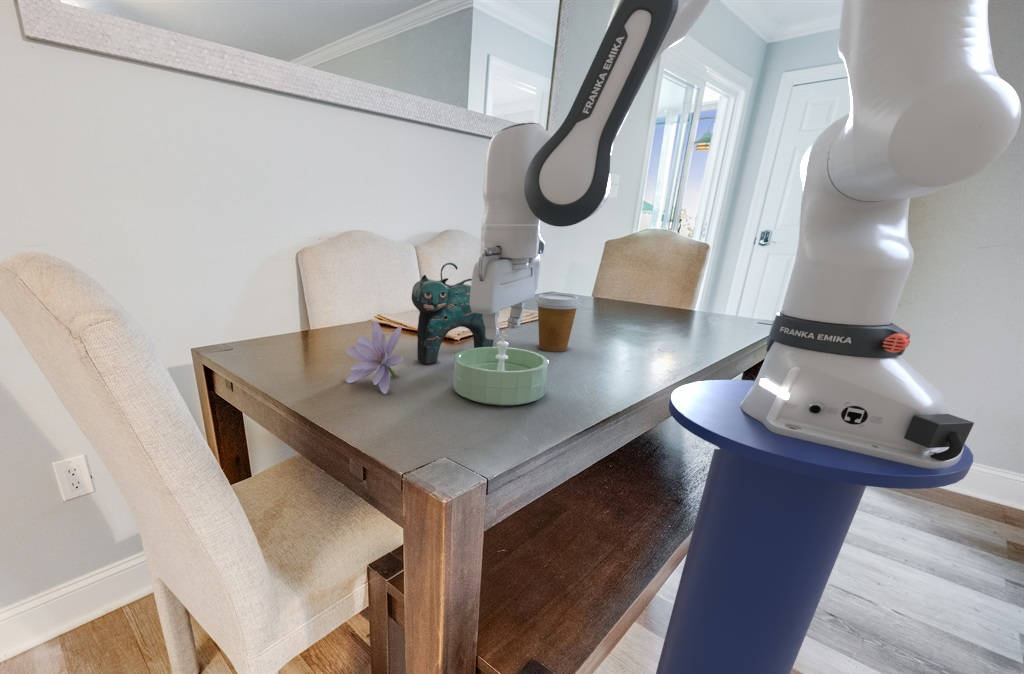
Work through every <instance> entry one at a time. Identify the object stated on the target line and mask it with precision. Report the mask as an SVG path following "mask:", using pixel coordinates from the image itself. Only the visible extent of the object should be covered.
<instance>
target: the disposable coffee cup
mask: <svg viewBox="0 0 1024 674" xmlns="http://www.w3.org/2000/svg"><path fill="white" fill-rule="evenodd" d="M535 302H536V306H537V321H538V348H539V349H541V350H543V351H546V352H564V351H567V349H568V345H569V341H570V337H571V334H572V330H573V325H574V321H575V319H576V318H575V317H576V314H577V310H578V308H579V306H580V304H581V302H579V297H578V296H577V295H573V294H565V293H564V294H563V293H542V294H539V295H538V298H537V300H536V301H535Z"/></svg>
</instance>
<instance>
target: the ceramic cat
mask: <svg viewBox="0 0 1024 674" xmlns="http://www.w3.org/2000/svg"><path fill="white" fill-rule="evenodd" d="M448 265H450V266H453V267H454V268H455V270H458V269H459V268H458V265H456V264H455V263H453V262H446V263H445V264H443V265H442V266H441V269H440V280H434V279H430V278H428V277H427V275H426V274H423V276H422V277H421V279H420V280H418V281H416V282H415V283H414V284H413V286H412V290H411V301H412V304H413V306H414V307H415V308H416V309H417V310H418V312H419V315H418V320H417V321H418V322H417V330H416V335H417V349H416V350H417V351H416V353H417V361H418V362H419V363H421V364H422V365H426V366H428V365H434V364H437V363H438V358H439V357H438V356H439V353H440V348H441V345H442V343H443V342H444V340H445V338H446V336H447V335H448V333H449V332H451V331H452V330H455V329H458V328H460V327H461V328H465V329H468V330H469V331H470V332H471V334H472V340H473V348H479V347H494V341H495V339H494V340H491V339H487V338H486V337H485V331H486V328H485V325H484V322H483V318H482V316H483V314H480V313H473V312H472V311H471V308H470V291H471V284H465V283H466V282H472V278H467V279H463V280H462V281H459V282H457V283H455V284H452V285H451V284H447V283H446V282H447V281H448V280H449V277H445V278H443V270H444V268H445V267H446V266H448Z"/></svg>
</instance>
